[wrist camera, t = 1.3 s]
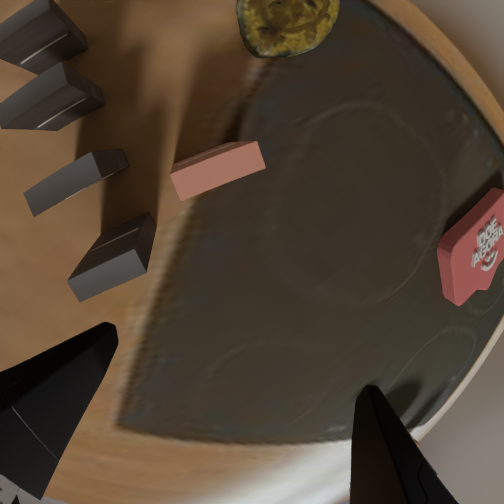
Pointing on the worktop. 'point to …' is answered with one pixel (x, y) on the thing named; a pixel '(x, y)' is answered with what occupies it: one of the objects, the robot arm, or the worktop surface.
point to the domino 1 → (40, 37)
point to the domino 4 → (114, 258)
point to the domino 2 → (51, 100)
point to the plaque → (473, 249)
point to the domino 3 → (74, 178)
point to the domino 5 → (215, 167)
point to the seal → (285, 25)
